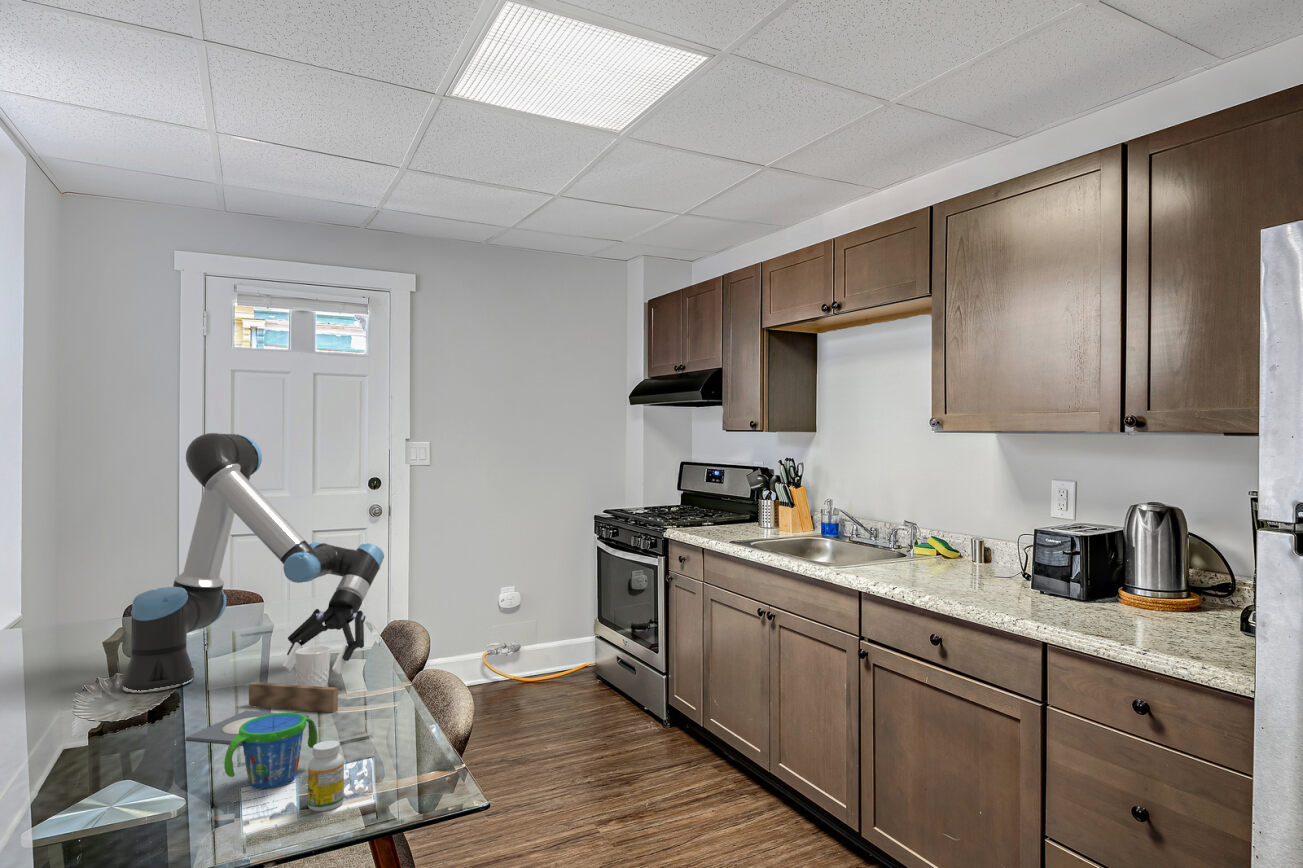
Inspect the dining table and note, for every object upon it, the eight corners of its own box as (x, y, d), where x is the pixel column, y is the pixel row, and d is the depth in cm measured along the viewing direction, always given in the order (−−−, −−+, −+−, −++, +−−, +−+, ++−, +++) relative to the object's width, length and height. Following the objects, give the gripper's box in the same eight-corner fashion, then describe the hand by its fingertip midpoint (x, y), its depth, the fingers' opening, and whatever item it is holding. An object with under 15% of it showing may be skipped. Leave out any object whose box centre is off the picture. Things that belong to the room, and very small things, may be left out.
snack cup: (237, 806, 120) (237, 742, 120) (212, 788, 127) (213, 728, 127) (330, 774, 132) (331, 716, 132) (303, 759, 139) (304, 704, 139)
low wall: (248, 706, 169) (249, 684, 169) (253, 704, 171) (253, 682, 171) (333, 712, 164) (333, 689, 165) (337, 710, 166) (337, 687, 166)
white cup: (316, 697, 175) (316, 654, 176) (287, 695, 177) (287, 653, 177) (337, 687, 183) (337, 646, 184) (308, 685, 185) (309, 645, 185)
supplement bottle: (344, 808, 119) (344, 747, 119) (307, 815, 117) (307, 753, 117) (343, 794, 124) (343, 736, 124) (308, 801, 122) (308, 741, 122)
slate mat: (186, 740, 149) (186, 736, 149) (246, 713, 164) (246, 709, 164) (254, 746, 145) (254, 742, 145) (308, 718, 161) (308, 714, 161)
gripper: (397, 606, 194) (363, 680, 179) (313, 603, 199) (273, 675, 184) (386, 589, 189) (350, 664, 174) (300, 586, 194) (258, 659, 179)
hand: (310, 670), depth 179 cm, fingers open, 13 cm apart
